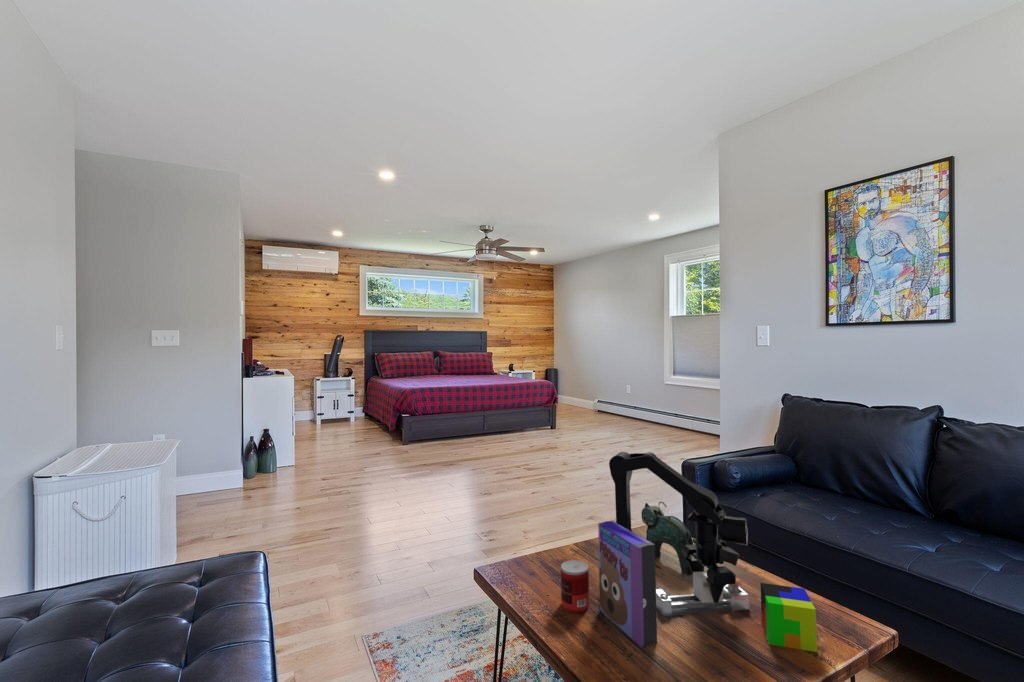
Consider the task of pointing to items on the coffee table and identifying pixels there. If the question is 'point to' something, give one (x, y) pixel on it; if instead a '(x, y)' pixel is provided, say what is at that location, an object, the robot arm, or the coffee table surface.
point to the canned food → (574, 586)
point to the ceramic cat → (666, 533)
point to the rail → (700, 603)
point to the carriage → (702, 587)
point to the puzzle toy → (788, 617)
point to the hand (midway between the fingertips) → (707, 594)
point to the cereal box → (628, 582)
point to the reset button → (734, 586)
